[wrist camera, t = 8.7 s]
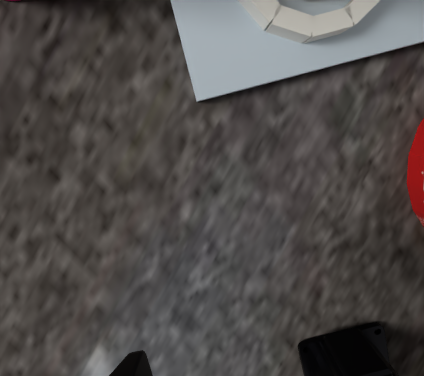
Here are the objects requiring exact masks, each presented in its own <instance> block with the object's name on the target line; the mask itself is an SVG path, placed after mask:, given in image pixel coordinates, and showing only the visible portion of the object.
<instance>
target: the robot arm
mask: <svg viewBox="0 0 424 376" xmlns="http://www.w3.org/2000/svg"><path fill="white" fill-rule="evenodd" d="M376 329H378V330H377V331H375V330H376ZM305 347H307V348H306V349H303V348H305ZM298 351H299V355H300V360H301V364H302V369H303V373H304V376H399V375H398V374H397V373H396V371H395V370H394V369H393V368H392V366H391V365H390V364H389V357H388V351H387V344H386V337H385V331H384V328H383V327H382V326H381V325H380V324H379V323H377V322H376V323H371V324H367V325H363V326H359V327H355V328H351V329H347V330H343V331H339V332H335V333H331V334H327V335H323V336H320V337H316V338H312V339H308V340H304V341H301V342H300V343H299V344H298ZM109 376H153V375H152V372H151V368H150V365H149V362H148V359H147V355H146V353H145V352H144V351H143V350H141V351H136V352H132V353H129V354H128V355H127V356H126V357H125V358H124V359H123V361H122V362H121V363H120V364H119V365H118V366H117V367H116V369H115V370H114V371H113V372H112V373H111V374H110V375H109Z"/></svg>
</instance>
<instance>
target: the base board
mask: <svg viewBox="0 0 424 376" xmlns="http://www.w3.org/2000/svg"><path fill="white" fill-rule="evenodd" d="M171 4H172V8H173V12H174V16H175V20H176V23H177V27H178V31H179V35H180V39H181V43H182V47H183V51H184V54H185V58H186V62H187V66H188V70H189V74H190V78H191V81H192V85H193V89H194V93H195V97H196V101H197V102H200V101H203V100H207V99H211V98H215V97H218V96H222V95H226V94H230V93H234V92H237V91H241V90H245V89H249V88H253V87H256V86H260V85H264V84H268V83H271V82H275V81H279V80H283V79H287V78H290V77H294V76H298V75H302V74H306V73H309V72H313V71H317V70H321V69H324V68H328V67H332V66H336V65H340V64H343V63H347V62H351V61H355V60H358V59H362V58H366V57H370V56H374V55H377V54H381V53H385V52H389V51H393V50H396V49H400V48H404V47H408V46H411V45H415V44H419V43H423V42H424V0H171Z"/></svg>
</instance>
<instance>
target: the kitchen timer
mask: <svg viewBox="0 0 424 376" xmlns="http://www.w3.org/2000/svg"><path fill="white" fill-rule="evenodd" d="M407 187H408V191H409V195H410V200H411V204H412V208H413V211H414V212H415V214H416V215H417V217H418V219H419V220H420V222H421V224H422V225H423V227H424V119H423V120H422V122H421V123H420V125H419V127H418V129H417V132H416V135H415V138H414V141H413V144H412V147H411V150H410V153H409V157H408V173H407Z"/></svg>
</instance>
